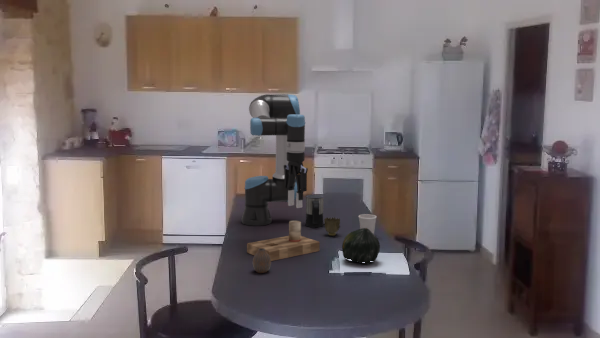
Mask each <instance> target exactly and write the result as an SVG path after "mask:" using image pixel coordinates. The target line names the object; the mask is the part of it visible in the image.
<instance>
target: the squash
mask: <svg viewBox="0 0 600 338" xmlns="http://www.w3.org/2000/svg"><path fill="white" fill-rule="evenodd" d="M380 250H381V245H380V241H379V238H377V236H376V234H375V233H374V234H373V233H372V232H371V231H370V230H369V229H367V228H362V229H360V228H359V229H356V230H353V231H351V232H348V233H347V234H346V236H345V237H344V239H343V240H342V245H341V251H342V256H343V258H344V259H345V258H347V259H351V260H352V261H356V262H357V261H358V262H360V263H361V264H363V265H368V264H372V263H373V262H370V261H374V262H375V261H376V260H377V258H378V255H379V253H380ZM352 261H349V262H350V263H353V262H352ZM358 262H357V263H358ZM362 262H365V263H362Z"/></svg>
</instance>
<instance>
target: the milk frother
mask: <svg viewBox="0 0 600 338" xmlns="http://www.w3.org/2000/svg"><path fill="white" fill-rule="evenodd" d="M324 198H325V196H324V195H321V194H308V195H305V226H306V227H309V228H310V227H311V228H320V227H324V226H325V223H324Z"/></svg>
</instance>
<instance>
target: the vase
mask: <svg viewBox="0 0 600 338" xmlns="http://www.w3.org/2000/svg"><path fill="white" fill-rule="evenodd" d="M252 266H253V269H254V271H255V272H256V273H258V274H266V273H268V272H269V270H270V268H271V266H272V261H271V258H270V256H269V254H268V253H267V252H266V250H265V249H264V248H259V249H258V251H257V253H256V254H255V255H253V258H252Z"/></svg>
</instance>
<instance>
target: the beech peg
mask: <svg viewBox="0 0 600 338" xmlns="http://www.w3.org/2000/svg"><path fill="white" fill-rule="evenodd" d="M301 233H302V222H301V221H300V220H289V222H288V236H289V241H291V242H299V241H301V236H302V234H301Z"/></svg>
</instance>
